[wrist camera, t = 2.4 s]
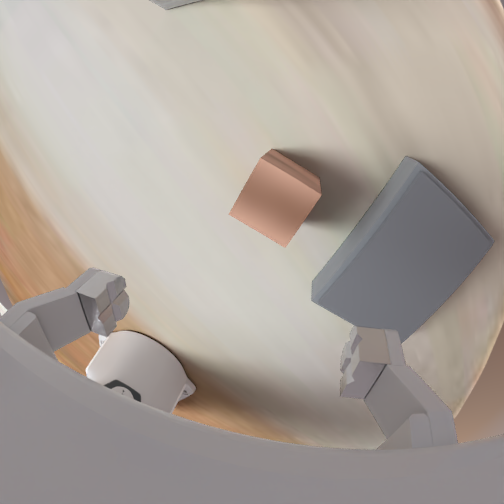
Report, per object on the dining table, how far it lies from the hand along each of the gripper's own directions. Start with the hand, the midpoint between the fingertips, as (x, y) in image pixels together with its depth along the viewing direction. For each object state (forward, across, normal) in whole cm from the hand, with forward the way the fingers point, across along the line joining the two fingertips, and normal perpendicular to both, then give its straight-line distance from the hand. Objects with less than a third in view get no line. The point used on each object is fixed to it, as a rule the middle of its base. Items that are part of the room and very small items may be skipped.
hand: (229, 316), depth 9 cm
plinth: (+19, -13, +5) cm, 23 cm away
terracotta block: (+19, 0, 0) cm, 19 cm away
